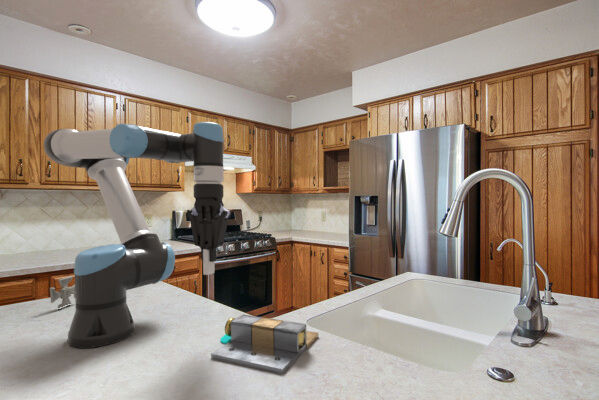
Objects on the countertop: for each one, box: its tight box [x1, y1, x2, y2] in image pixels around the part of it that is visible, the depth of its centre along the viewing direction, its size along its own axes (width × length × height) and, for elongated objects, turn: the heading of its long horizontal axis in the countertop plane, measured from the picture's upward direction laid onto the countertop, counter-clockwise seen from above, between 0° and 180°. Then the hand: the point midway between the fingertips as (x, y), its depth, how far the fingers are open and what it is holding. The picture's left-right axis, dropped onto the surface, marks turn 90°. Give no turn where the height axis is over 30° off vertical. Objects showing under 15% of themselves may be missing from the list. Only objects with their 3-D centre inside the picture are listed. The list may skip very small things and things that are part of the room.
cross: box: [49, 275, 75, 308], centre depth 114 cm, size 10×3×10 cm, turn 166°
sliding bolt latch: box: [210, 314, 319, 375], centre depth 82 cm, size 18×20×6 cm
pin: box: [224, 317, 305, 346], centre depth 82 cm, size 20×4×4 cm, turn 66°
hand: (208, 273), depth 89 cm, fingers closed
